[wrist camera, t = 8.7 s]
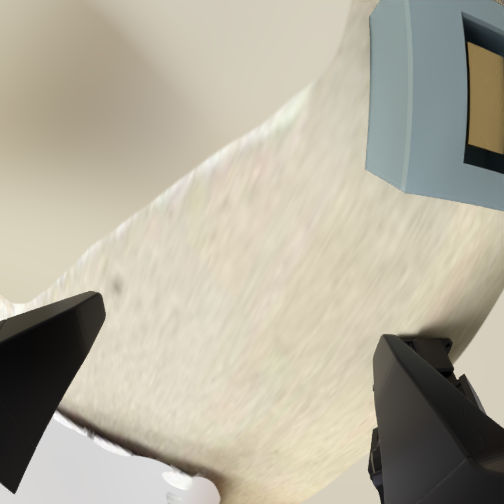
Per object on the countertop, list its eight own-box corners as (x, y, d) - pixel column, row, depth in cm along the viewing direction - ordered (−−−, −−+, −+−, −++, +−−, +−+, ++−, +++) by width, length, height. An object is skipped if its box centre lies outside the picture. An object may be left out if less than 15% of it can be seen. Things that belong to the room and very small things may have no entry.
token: (453, 145, 16) (503, 154, 11) (423, 138, 16) (468, 143, 11) (455, 70, 14) (503, 57, 9) (425, 61, 14) (467, 41, 9)
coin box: (483, 190, 17) (549, 222, 10) (365, 169, 19) (404, 192, 11) (488, 54, 13) (553, 38, 6) (369, 17, 14) (403, -35, 7)
